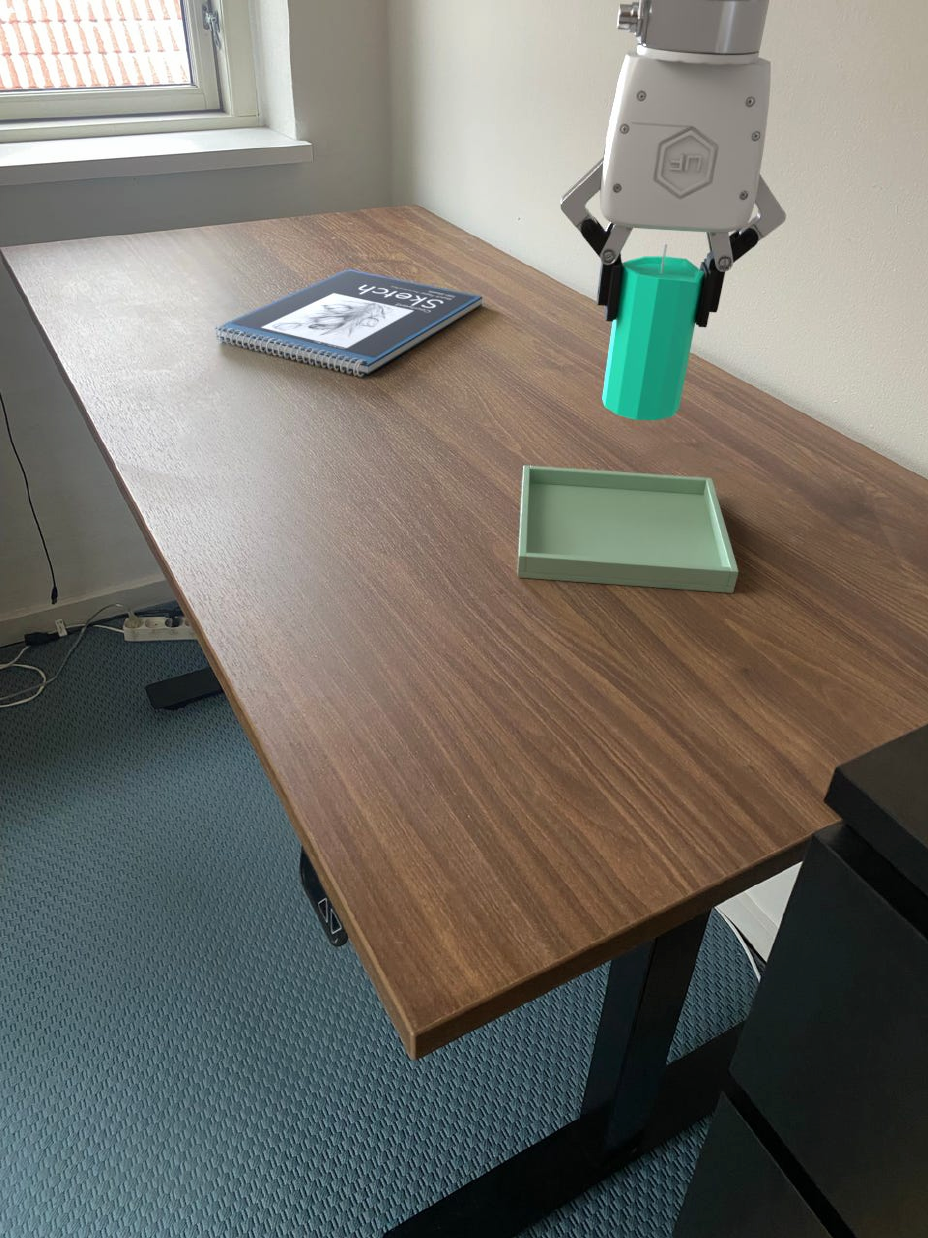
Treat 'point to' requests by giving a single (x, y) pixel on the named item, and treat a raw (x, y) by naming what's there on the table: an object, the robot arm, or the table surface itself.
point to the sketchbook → (350, 321)
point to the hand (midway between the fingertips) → (654, 315)
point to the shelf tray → (623, 530)
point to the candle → (652, 337)
